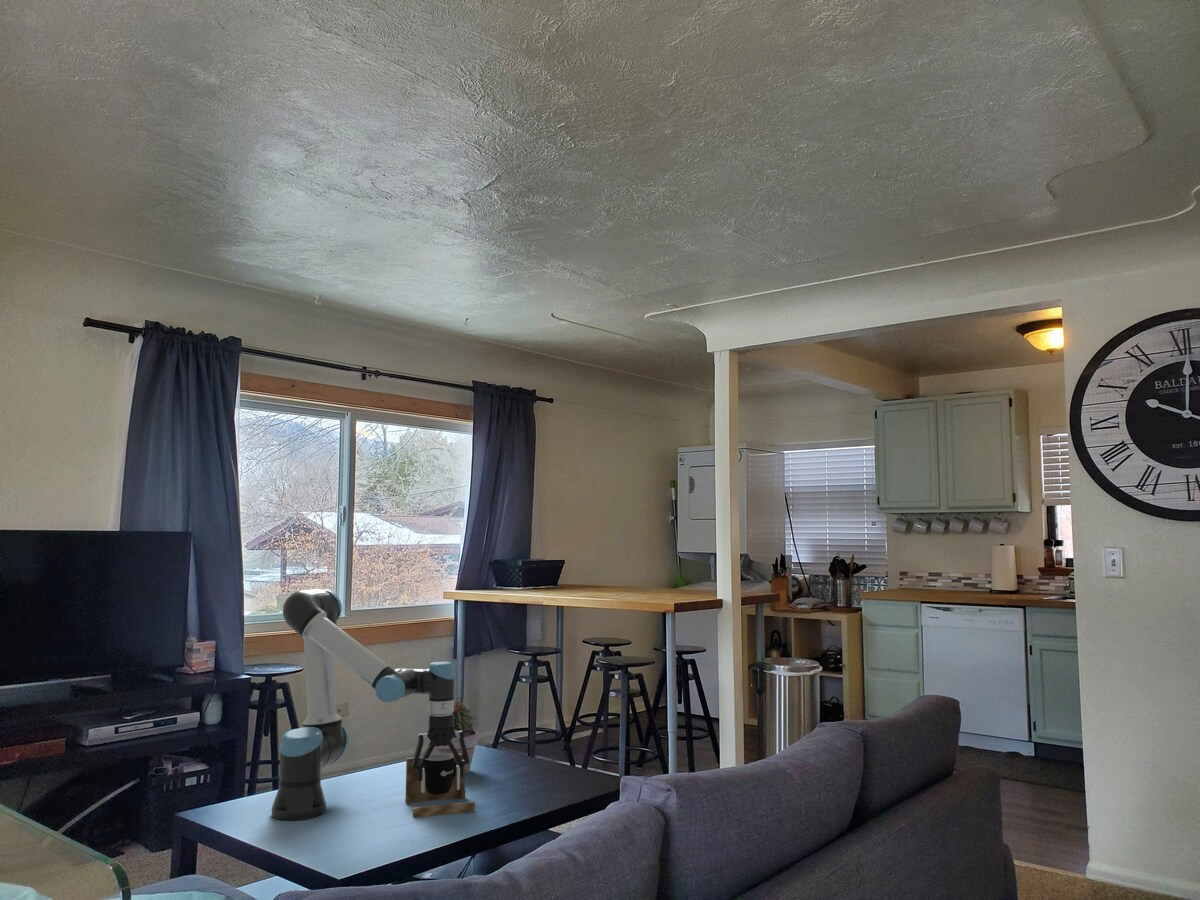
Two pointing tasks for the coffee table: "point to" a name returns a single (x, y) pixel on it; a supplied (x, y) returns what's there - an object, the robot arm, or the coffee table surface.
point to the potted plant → (470, 736)
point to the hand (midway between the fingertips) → (440, 790)
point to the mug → (439, 773)
